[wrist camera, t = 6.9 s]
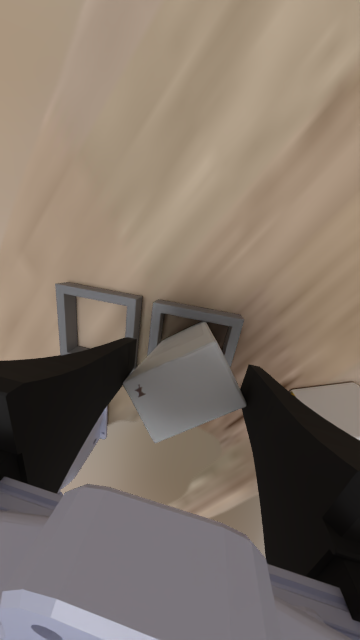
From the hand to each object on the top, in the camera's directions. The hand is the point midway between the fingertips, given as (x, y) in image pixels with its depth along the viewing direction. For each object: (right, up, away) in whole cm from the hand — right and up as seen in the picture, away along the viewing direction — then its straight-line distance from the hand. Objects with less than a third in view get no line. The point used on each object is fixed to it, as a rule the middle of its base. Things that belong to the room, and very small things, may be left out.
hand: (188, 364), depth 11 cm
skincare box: (+1, 0, +11) cm, 11 cm away
